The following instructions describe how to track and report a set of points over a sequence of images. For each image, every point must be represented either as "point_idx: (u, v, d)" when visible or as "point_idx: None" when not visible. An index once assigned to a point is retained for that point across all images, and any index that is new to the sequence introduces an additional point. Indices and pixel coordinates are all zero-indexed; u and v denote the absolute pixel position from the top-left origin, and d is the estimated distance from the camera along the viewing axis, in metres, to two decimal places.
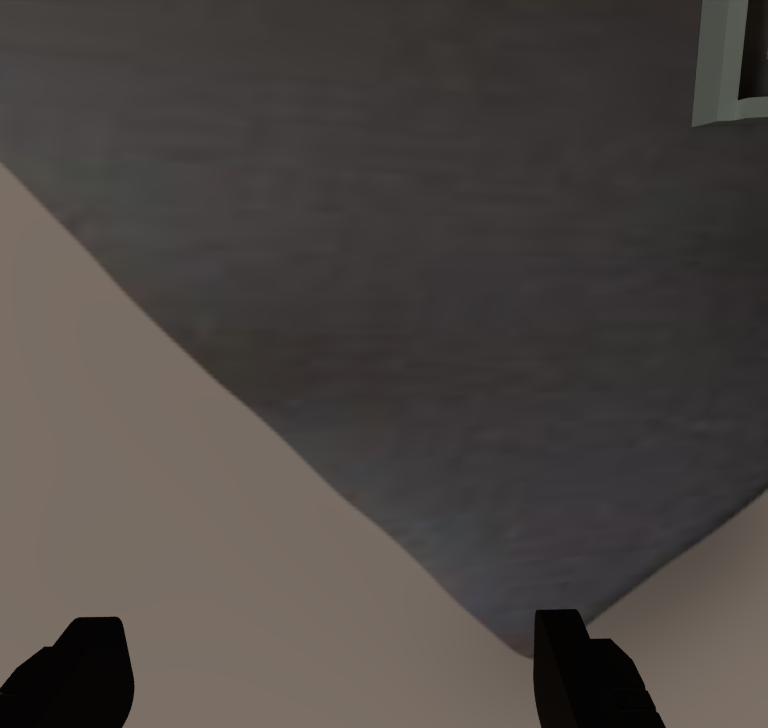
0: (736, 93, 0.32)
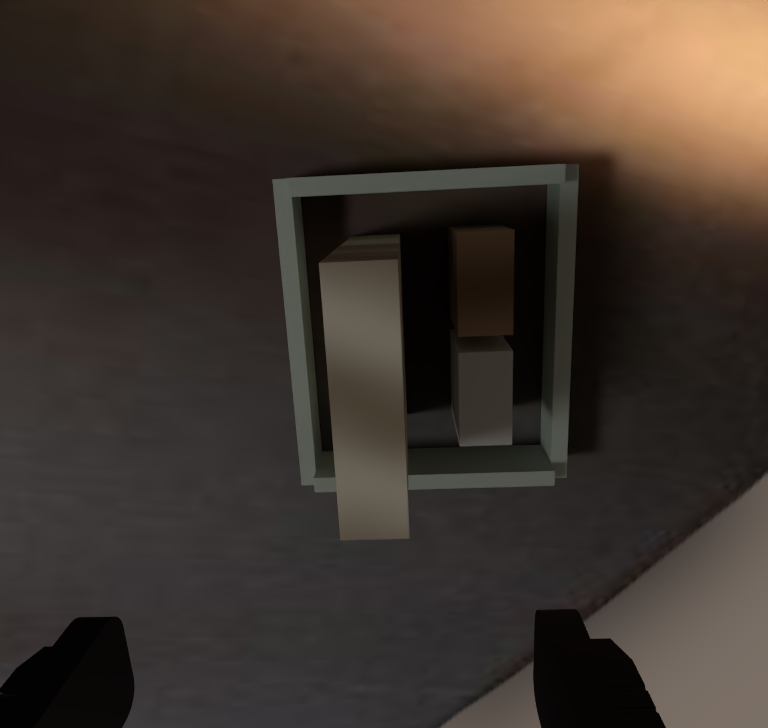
0: (313, 465, 0.38)
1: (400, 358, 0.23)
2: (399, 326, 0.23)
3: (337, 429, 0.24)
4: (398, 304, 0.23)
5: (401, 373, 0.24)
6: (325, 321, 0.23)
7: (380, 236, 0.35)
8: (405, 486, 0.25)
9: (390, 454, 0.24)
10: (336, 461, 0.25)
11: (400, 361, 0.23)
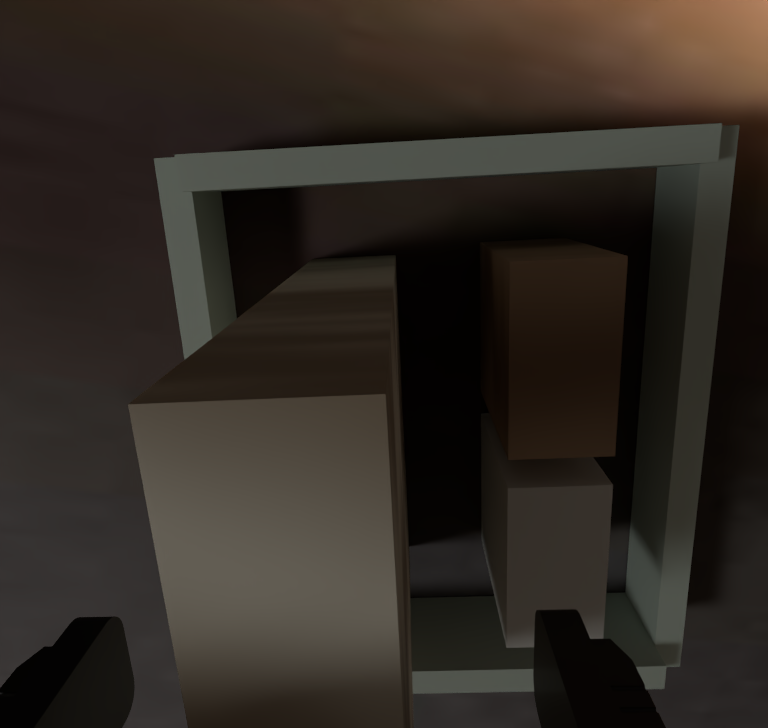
0: None
1: (396, 669, 0.08)
2: (392, 587, 0.07)
3: None
4: (389, 526, 0.07)
5: (399, 705, 0.08)
6: (165, 571, 0.08)
7: (360, 262, 0.20)
8: None
9: None
10: None
11: (396, 678, 0.08)
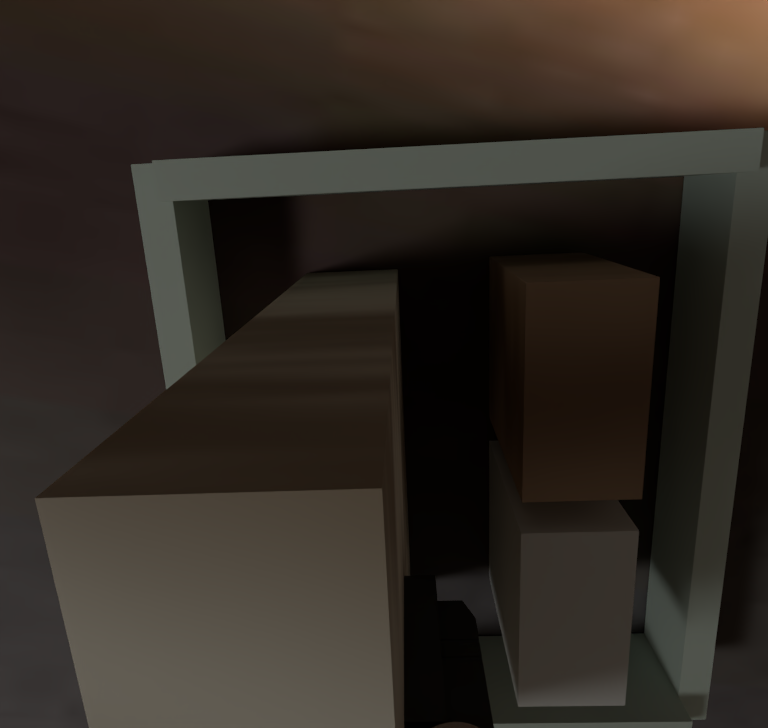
0: None
1: None
2: None
3: None
4: (386, 657, 0.05)
5: None
6: (93, 707, 0.06)
7: (359, 277, 0.18)
8: None
9: None
10: None
11: None
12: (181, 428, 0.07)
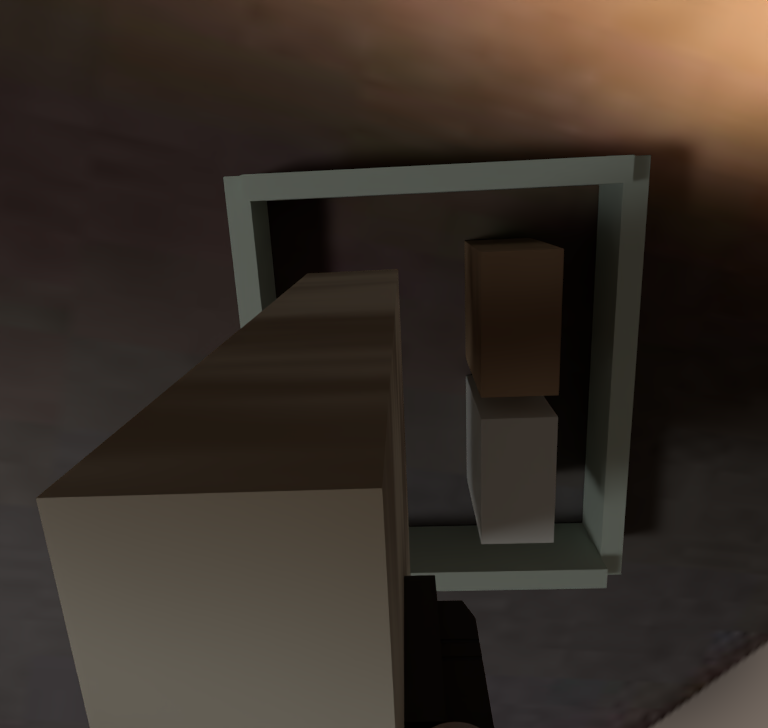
0: None
1: None
2: None
3: None
4: (386, 656, 0.05)
5: None
6: (94, 706, 0.06)
7: (359, 277, 0.18)
8: None
9: None
10: None
11: None
12: (182, 428, 0.07)
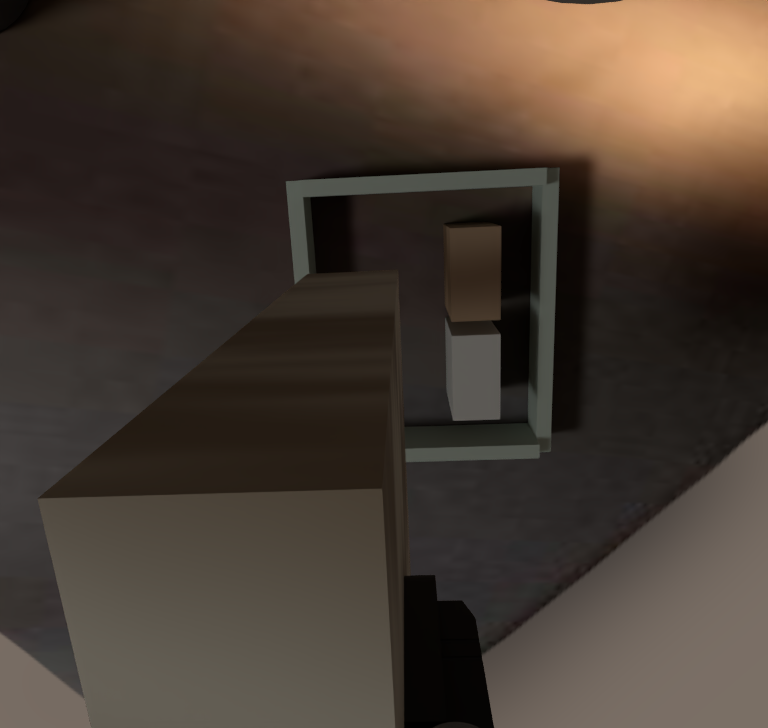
0: None
1: None
2: None
3: None
4: (386, 656, 0.05)
5: None
6: (95, 706, 0.06)
7: (359, 278, 0.18)
8: None
9: None
10: None
11: None
12: (182, 429, 0.07)
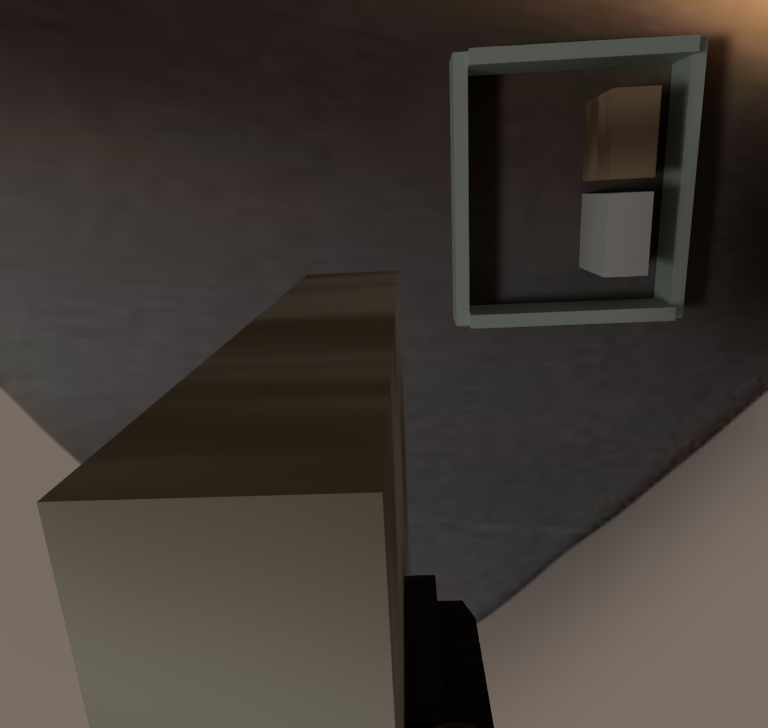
0: (468, 308, 0.45)
1: None
2: None
3: None
4: (386, 660, 0.05)
5: None
6: (95, 709, 0.06)
7: (359, 279, 0.18)
8: None
9: None
10: None
11: None
12: (182, 431, 0.07)
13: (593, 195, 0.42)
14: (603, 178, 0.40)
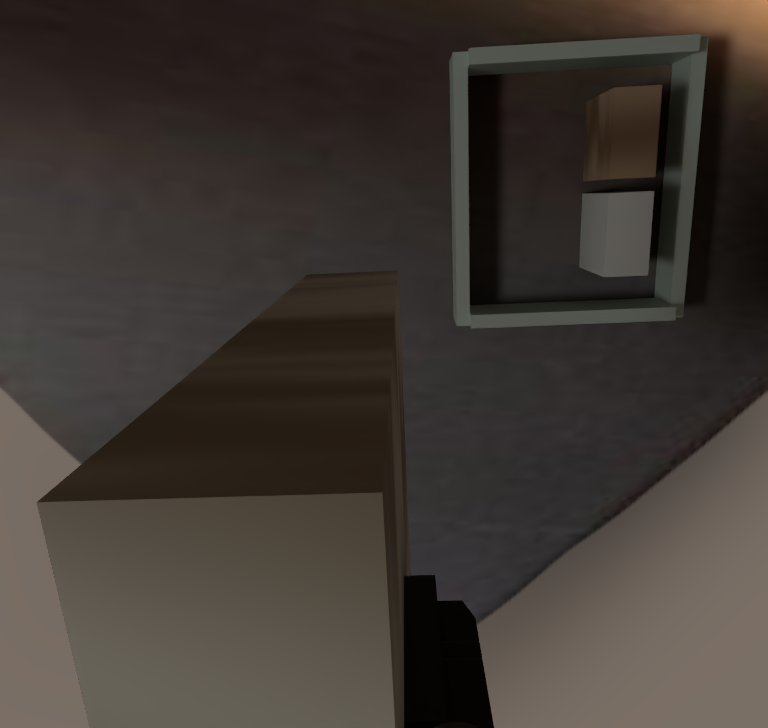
0: (468, 308, 0.45)
1: None
2: None
3: None
4: (386, 660, 0.05)
5: None
6: (95, 710, 0.06)
7: (359, 279, 0.18)
8: None
9: None
10: None
11: None
12: (182, 431, 0.07)
13: (593, 195, 0.42)
14: (603, 178, 0.40)
